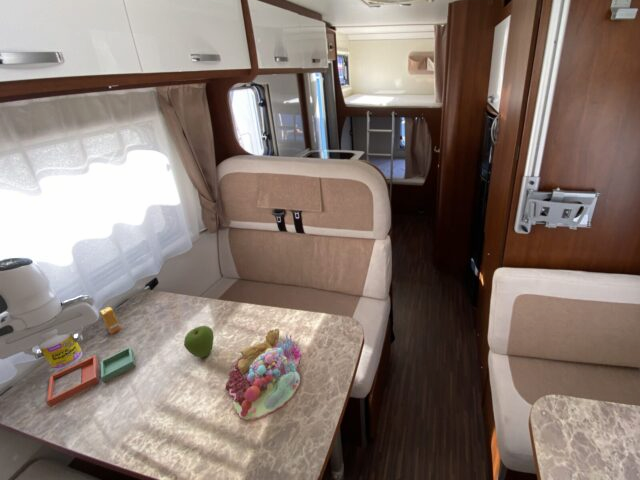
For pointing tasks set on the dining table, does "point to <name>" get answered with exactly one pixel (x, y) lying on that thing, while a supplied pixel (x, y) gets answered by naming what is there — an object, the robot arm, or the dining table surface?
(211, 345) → the apple
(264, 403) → the candy landscape model
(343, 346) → the dining table surface
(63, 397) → the terracotta tray
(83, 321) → the robot arm
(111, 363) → the sage tray
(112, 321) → the supplement box
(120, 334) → the dining table surface
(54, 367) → the supplement bottle
